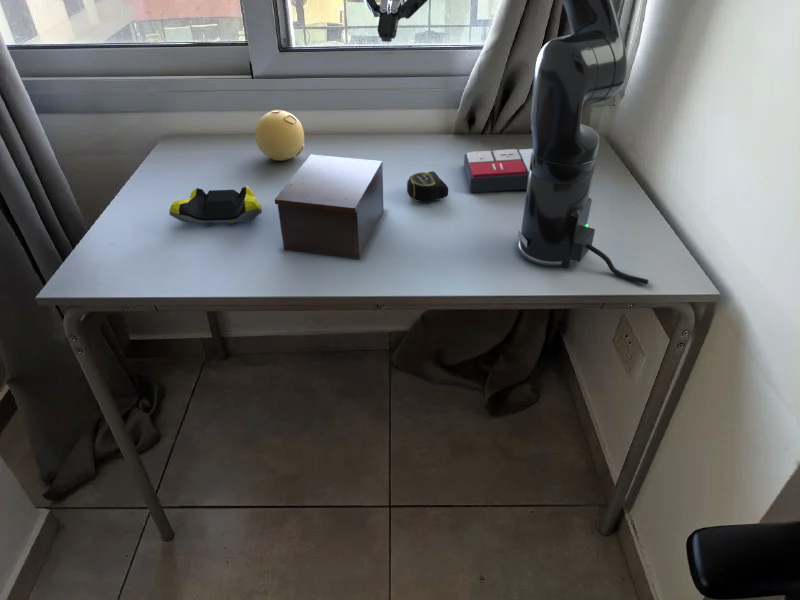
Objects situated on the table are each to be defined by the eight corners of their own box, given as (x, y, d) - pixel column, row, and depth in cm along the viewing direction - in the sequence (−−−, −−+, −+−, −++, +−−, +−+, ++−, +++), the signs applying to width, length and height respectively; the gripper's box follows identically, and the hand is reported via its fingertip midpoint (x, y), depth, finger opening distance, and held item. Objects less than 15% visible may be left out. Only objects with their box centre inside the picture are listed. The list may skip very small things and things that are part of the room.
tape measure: (449, 202, 113) (450, 184, 111) (413, 208, 112) (414, 189, 109) (436, 186, 118) (436, 168, 116) (402, 191, 117) (402, 173, 115)
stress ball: (298, 170, 124) (293, 121, 118) (251, 167, 126) (244, 119, 119) (312, 149, 132) (307, 103, 126) (267, 147, 133) (261, 101, 127)
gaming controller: (262, 233, 105) (268, 204, 113) (257, 204, 102) (264, 177, 110) (172, 236, 104) (184, 207, 112) (164, 207, 101) (177, 179, 109)
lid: (355, 213, 93) (355, 208, 92) (274, 204, 95) (274, 199, 94) (382, 165, 105) (382, 160, 105) (311, 158, 108) (310, 154, 107)
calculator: (463, 150, 123) (539, 145, 123) (463, 170, 125) (537, 165, 125) (470, 175, 114) (552, 169, 114) (470, 196, 117) (550, 190, 116)
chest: (359, 259, 99) (356, 210, 93) (283, 250, 101) (276, 201, 95) (383, 211, 111) (382, 165, 105) (315, 204, 113) (311, 158, 108)
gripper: (357, -77, 99) (340, 23, 97) (439, -76, 97) (423, 27, 95) (367, -45, 107) (351, 49, 104) (443, -43, 104) (428, 53, 102)
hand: (385, 39), depth 100 cm, fingers closed
